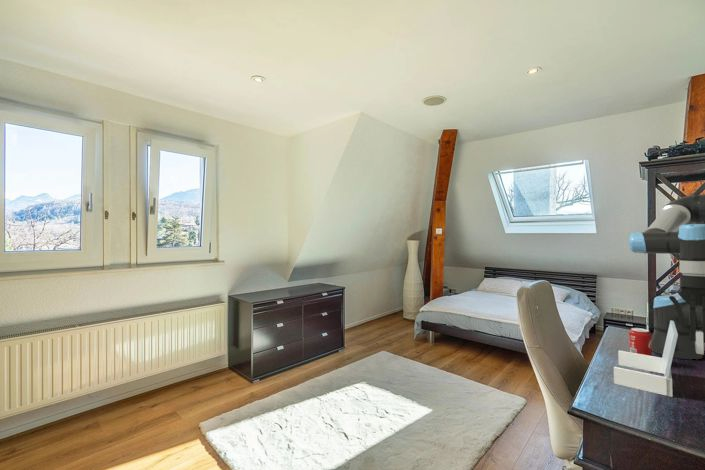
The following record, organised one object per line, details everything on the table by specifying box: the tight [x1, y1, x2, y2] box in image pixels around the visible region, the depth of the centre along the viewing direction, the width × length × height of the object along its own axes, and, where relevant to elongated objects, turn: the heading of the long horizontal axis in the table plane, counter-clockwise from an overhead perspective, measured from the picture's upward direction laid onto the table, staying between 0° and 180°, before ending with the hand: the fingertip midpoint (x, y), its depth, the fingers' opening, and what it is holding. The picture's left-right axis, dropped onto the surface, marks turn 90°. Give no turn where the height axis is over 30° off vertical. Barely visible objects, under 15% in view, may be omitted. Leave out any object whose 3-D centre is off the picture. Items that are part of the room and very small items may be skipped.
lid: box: [661, 320, 678, 377], centre depth 101 cm, size 13×22×1 cm
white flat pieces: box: [613, 349, 673, 398], centre depth 106 cm, size 13×22×5 cm, turn 137°
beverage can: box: [628, 327, 653, 356], centre depth 120 cm, size 6×6×12 cm
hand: (699, 352), depth 97 cm, fingers closed
